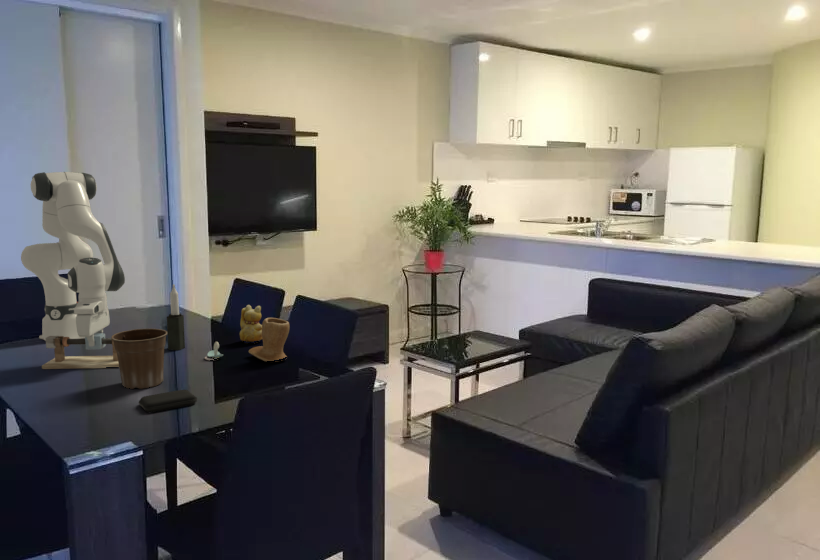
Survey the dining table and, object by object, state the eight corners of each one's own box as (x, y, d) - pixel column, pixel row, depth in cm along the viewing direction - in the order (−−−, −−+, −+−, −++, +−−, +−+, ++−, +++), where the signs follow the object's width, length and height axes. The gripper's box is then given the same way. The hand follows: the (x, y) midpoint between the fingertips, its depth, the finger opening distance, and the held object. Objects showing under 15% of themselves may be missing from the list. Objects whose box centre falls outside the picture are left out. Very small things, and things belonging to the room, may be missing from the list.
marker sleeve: (91, 346, 233) (90, 333, 232) (105, 346, 233) (105, 333, 233) (85, 349, 228) (85, 336, 228) (100, 349, 229) (100, 336, 228)
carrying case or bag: (187, 395, 198) (136, 405, 190) (187, 386, 198) (135, 395, 189) (199, 405, 190) (146, 415, 181) (198, 395, 189) (145, 405, 181)
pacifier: (208, 362, 235) (225, 359, 238) (207, 345, 234) (223, 343, 237) (202, 358, 241) (218, 355, 244) (200, 341, 240) (217, 339, 243)
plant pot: (135, 395, 198) (132, 342, 195) (103, 386, 206) (100, 335, 204) (180, 381, 211) (178, 332, 209) (148, 373, 220) (145, 326, 218)
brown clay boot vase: (295, 360, 237) (294, 320, 235) (264, 366, 230) (263, 324, 228) (277, 352, 249) (276, 313, 247) (247, 356, 242) (246, 316, 240)
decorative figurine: (266, 340, 267) (265, 304, 265) (259, 345, 259) (258, 308, 257) (243, 339, 268) (242, 303, 266) (235, 344, 260) (234, 307, 258)
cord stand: (57, 359, 236) (55, 333, 235) (132, 358, 238) (130, 332, 237) (41, 369, 224) (39, 340, 223) (120, 367, 226) (119, 339, 225)
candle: (179, 350, 250) (176, 285, 247) (166, 349, 251) (163, 285, 248) (186, 347, 255) (183, 283, 251) (174, 346, 256) (171, 283, 252)
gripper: (95, 299, 238) (97, 337, 240) (71, 310, 218) (74, 351, 220) (113, 299, 239) (115, 336, 241) (91, 310, 219) (93, 350, 221)
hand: (95, 343), depth 230 cm, fingers closed on marker sleeve, 5 cm apart
